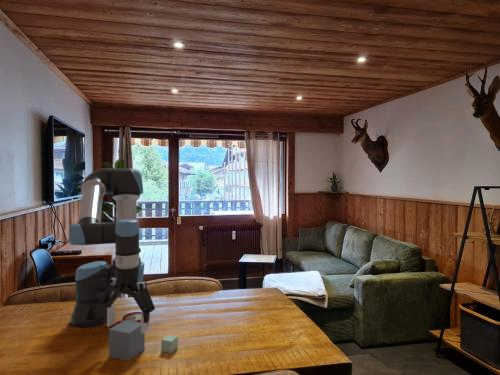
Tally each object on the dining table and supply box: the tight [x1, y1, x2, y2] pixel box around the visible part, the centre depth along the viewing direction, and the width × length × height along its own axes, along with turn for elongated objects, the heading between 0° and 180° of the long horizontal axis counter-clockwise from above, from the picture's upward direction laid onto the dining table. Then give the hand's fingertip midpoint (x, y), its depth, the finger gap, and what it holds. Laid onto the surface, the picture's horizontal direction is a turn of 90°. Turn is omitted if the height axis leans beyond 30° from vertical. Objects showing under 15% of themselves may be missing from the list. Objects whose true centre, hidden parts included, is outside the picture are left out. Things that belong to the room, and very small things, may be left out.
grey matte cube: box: [108, 320, 146, 362], centre depth 113 cm, size 8×8×9 cm
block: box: [160, 334, 179, 354], centre depth 116 cm, size 4×4×4 cm
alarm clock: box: [115, 311, 151, 326], centre depth 133 cm, size 10×6×15 cm
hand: (127, 328), depth 114 cm, fingers open, 13 cm apart
